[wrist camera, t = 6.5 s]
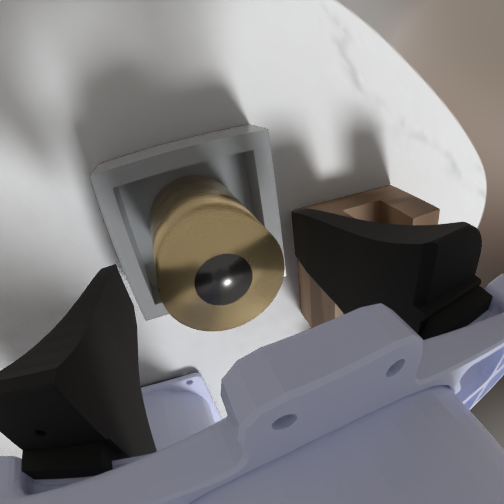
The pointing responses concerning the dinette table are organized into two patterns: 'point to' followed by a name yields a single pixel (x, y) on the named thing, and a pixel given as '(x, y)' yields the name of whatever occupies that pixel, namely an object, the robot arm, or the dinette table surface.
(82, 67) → the dinette table surface
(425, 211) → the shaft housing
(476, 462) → the robot arm
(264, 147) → the socket
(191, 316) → the pepper mill
